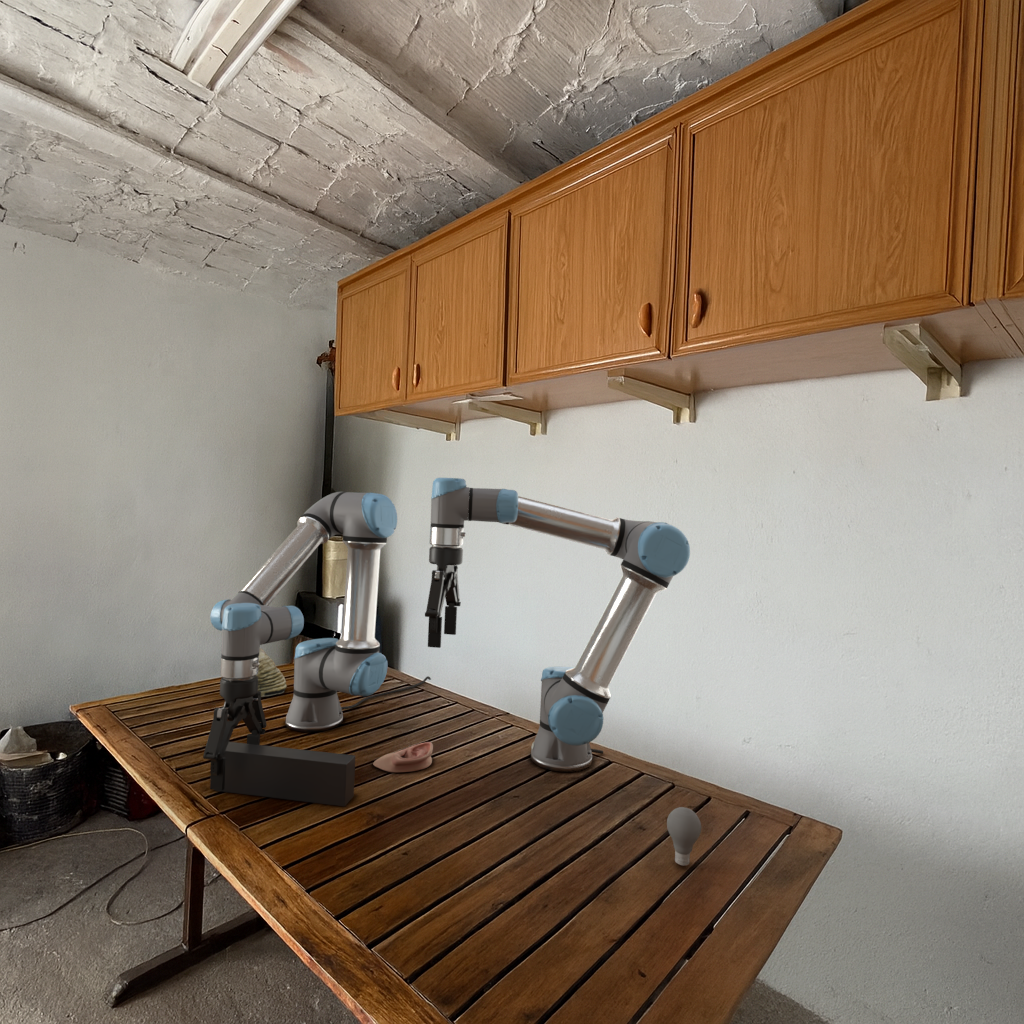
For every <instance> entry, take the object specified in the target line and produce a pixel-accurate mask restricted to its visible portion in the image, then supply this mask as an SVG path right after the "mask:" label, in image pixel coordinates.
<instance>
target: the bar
mask: <svg viewBox="0 0 1024 1024" xmlns="http://www.w3.org/2000/svg"><path fill="white" fill-rule="evenodd" d="M223 757H225V758H226V760H225V786H224V790H222V791H221V790H213V791H216V792H223V793H224V792H225V793H232V794H237V795H247V796H255V797H263V798H271V799H280V800H289V801H295V802H296V801H298V802H305V803H313V804H320V805H327V806H329V805H330V806H337V807H346V806H347V805H348V803H350V801H352V799H353V798H354V796H355V779H356V755H354V754H345V753H338V752H337V753H336V752H328V751H327V752H326V751H317V750H309V749H300V748H299V749H298V748H292V747H291V748H290V747H281V746H271V745H262V744H260V745H255V744H247V742H246V743H245V742H237V741H229V742H228V745H227V748H226V750H225V753H224V755H223Z"/></svg>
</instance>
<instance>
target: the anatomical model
mask: <svg viewBox="0 0 1024 1024" xmlns="http://www.w3.org/2000/svg"><path fill="white" fill-rule="evenodd" d="M433 751H434V744H433V743H432V742H430V741H426V742H422V743H418V744H414V745H411V746H408V747H406V748H403V749H401V750H397V751H394V752H390V753H387V754H385V755H382V756H381V757H378V758H377V759H375V760H374V762H373V763H372V764H373V766H374V767H375V768H378V769H380V770H382V771H385V772H388V773H408V772H416V771H420V770H424V769H426V768H428V767H430V766H431V765H432V763H433V758H432V756H431V755H432V754H433Z"/></svg>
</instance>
